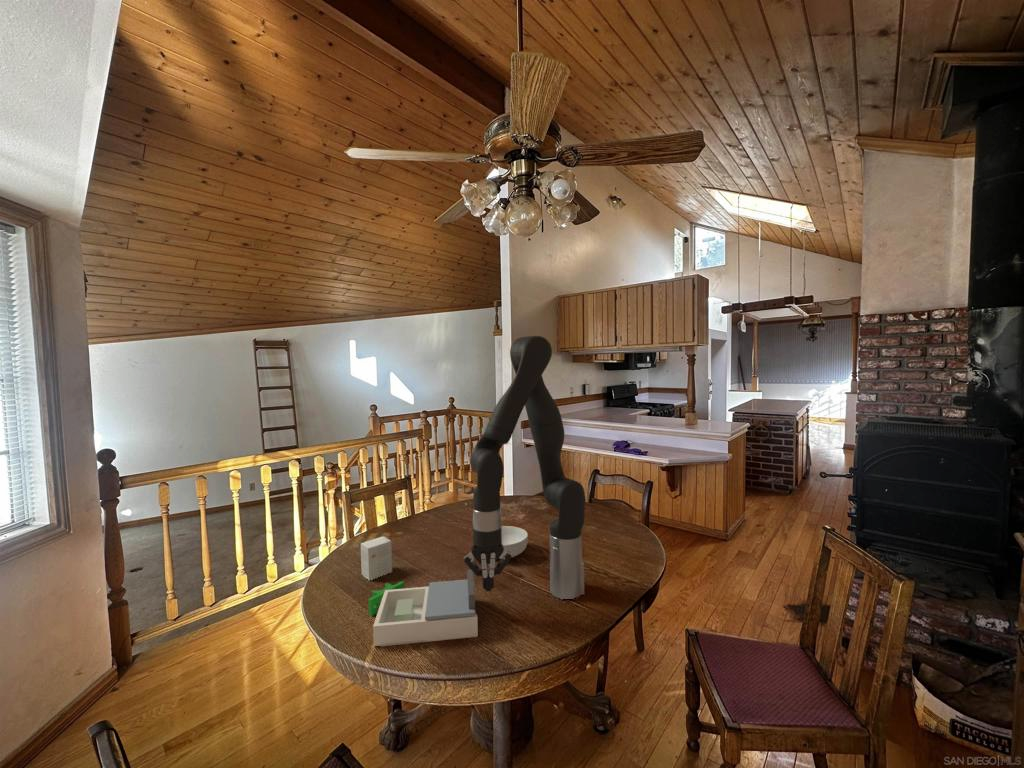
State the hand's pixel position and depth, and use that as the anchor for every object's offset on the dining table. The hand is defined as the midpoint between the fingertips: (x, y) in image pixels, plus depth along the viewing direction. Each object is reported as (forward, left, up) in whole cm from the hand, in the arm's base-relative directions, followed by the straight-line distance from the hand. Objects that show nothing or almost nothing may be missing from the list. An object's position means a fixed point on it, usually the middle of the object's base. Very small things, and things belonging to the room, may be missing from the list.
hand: (488, 589), depth 108 cm
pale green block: (+22, 0, -7) cm, 23 cm away
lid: (+10, 0, -2) cm, 10 cm away
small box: (+34, -28, -7) cm, 44 cm away
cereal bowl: (-8, -35, -7) cm, 37 cm away
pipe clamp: (+28, -10, -7) cm, 31 cm away
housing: (+16, 0, -7) cm, 17 cm away
